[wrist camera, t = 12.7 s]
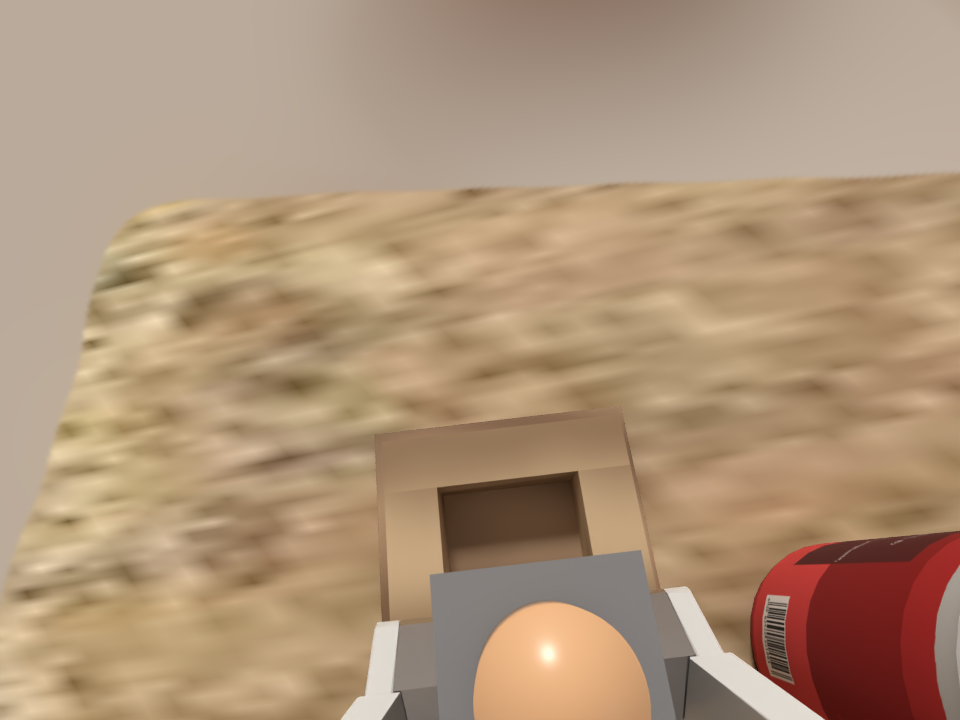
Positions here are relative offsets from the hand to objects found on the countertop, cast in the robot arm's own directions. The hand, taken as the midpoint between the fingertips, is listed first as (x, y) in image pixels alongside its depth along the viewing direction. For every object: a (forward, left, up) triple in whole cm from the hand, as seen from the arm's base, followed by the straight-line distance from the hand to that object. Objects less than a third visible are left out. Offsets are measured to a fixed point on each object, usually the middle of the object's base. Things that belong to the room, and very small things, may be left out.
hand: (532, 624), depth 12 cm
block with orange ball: (0, 0, -5) cm, 5 cm away
